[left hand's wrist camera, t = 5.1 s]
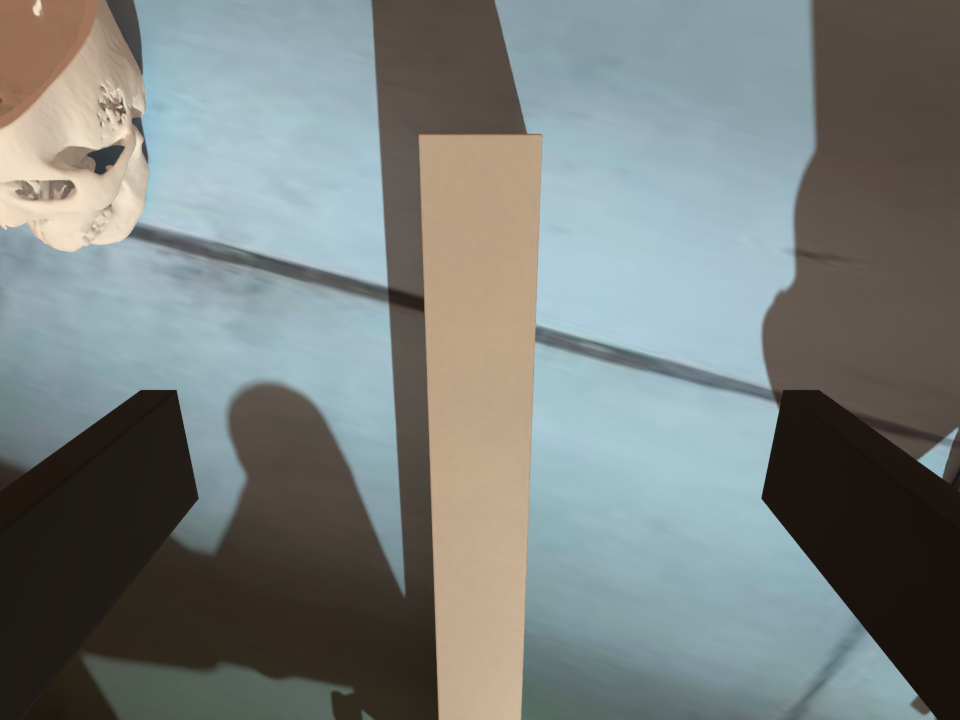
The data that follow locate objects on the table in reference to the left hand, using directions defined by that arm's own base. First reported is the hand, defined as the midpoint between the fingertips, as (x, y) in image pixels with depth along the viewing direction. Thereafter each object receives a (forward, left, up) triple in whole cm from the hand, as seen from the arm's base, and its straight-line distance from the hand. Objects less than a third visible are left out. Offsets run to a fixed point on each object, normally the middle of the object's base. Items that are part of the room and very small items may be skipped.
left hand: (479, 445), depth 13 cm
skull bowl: (+7, -24, -26) cm, 36 cm away
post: (+26, +19, -26) cm, 41 cm away
